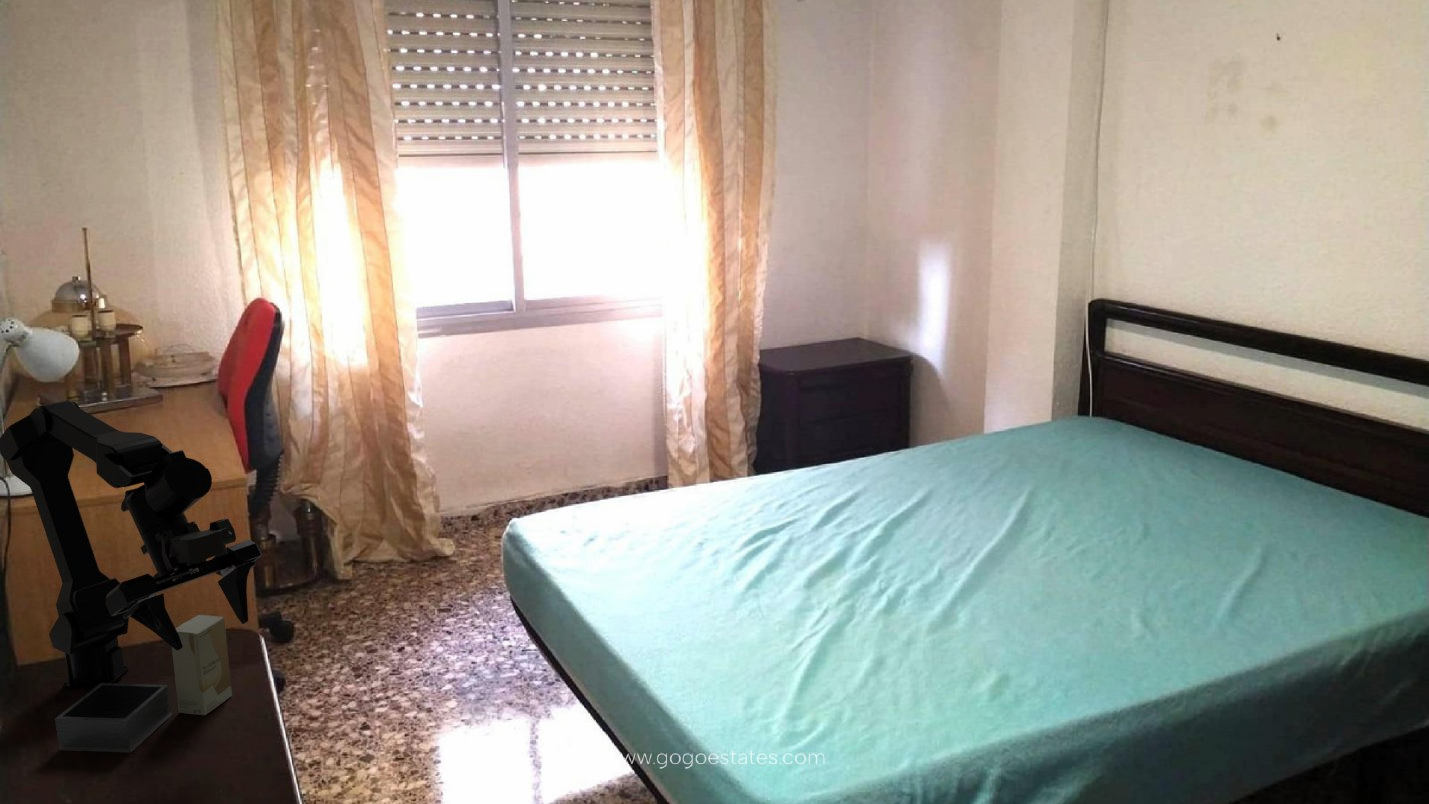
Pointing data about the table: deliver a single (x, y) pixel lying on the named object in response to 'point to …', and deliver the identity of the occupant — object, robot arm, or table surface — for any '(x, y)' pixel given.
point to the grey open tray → (113, 717)
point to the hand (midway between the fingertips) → (213, 635)
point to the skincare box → (202, 665)
